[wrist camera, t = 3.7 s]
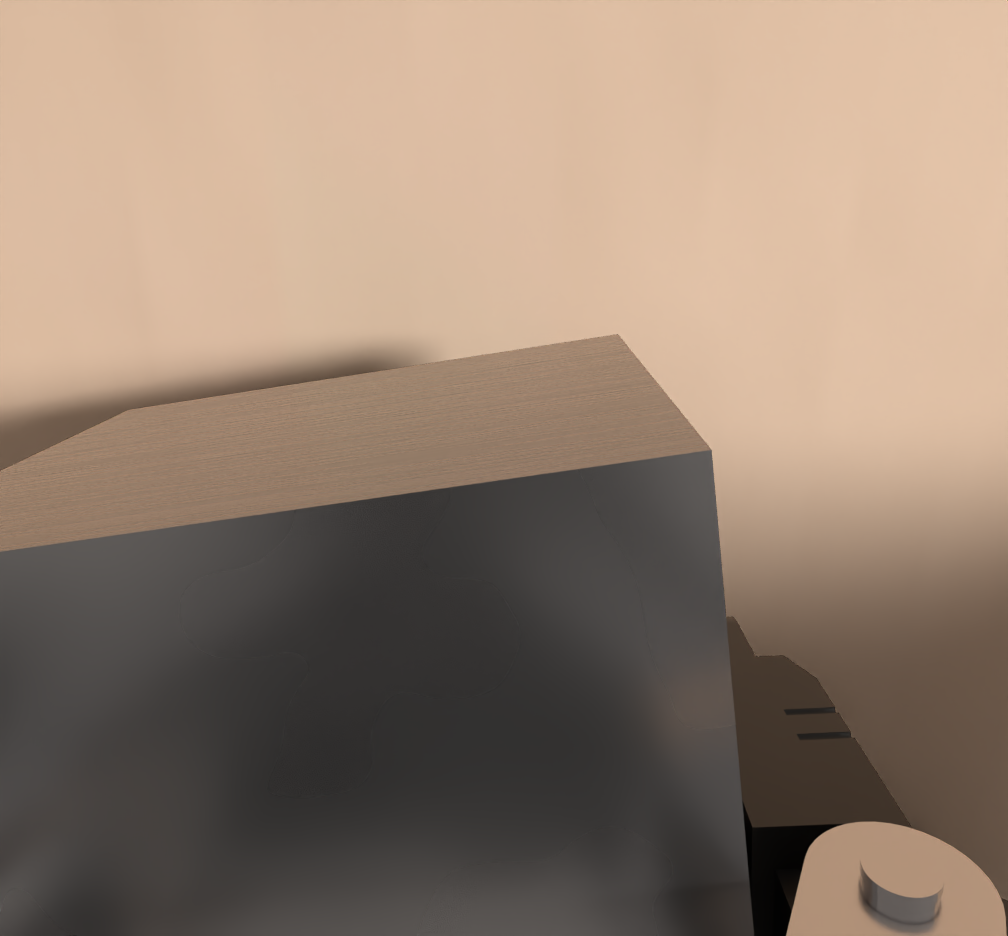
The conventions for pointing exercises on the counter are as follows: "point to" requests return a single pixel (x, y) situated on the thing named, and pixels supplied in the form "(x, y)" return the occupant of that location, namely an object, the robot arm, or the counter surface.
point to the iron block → (373, 663)
